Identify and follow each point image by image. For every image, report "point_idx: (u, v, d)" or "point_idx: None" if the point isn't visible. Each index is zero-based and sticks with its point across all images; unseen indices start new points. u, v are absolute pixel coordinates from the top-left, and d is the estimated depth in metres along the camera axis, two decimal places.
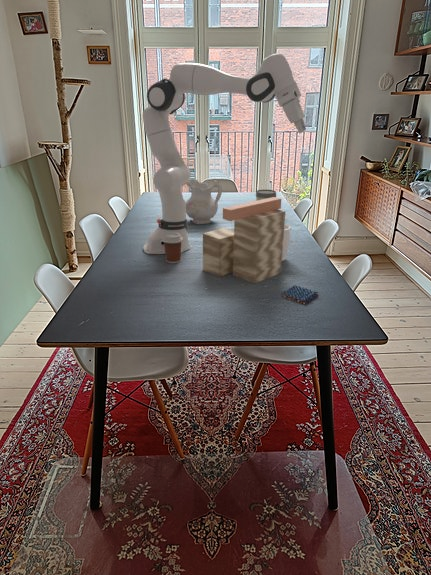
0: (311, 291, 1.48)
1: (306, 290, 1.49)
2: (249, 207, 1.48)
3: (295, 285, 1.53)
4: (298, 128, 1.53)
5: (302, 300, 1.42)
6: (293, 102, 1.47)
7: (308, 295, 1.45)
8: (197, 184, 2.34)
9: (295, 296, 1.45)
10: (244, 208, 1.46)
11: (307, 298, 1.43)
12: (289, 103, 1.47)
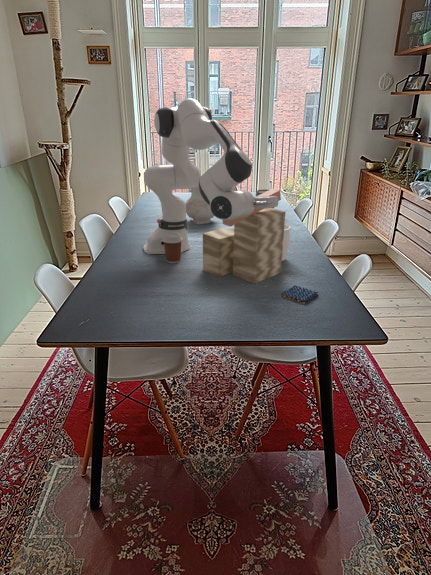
0: (311, 291, 1.48)
1: (306, 290, 1.49)
2: None
3: (295, 285, 1.53)
4: None
5: (302, 300, 1.42)
6: None
7: (308, 295, 1.45)
8: None
9: (295, 296, 1.45)
10: None
11: (307, 298, 1.43)
12: None
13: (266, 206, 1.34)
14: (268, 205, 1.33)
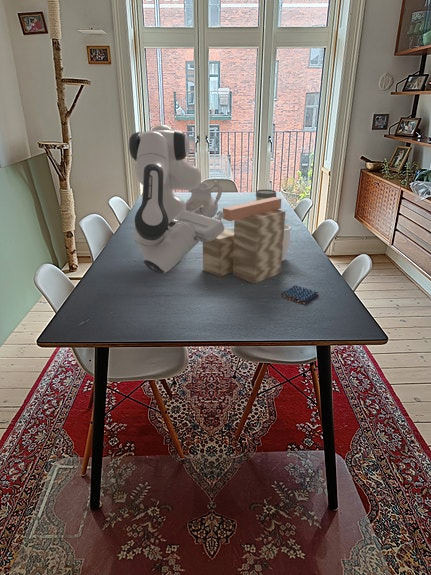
0: (311, 291, 1.48)
1: (306, 290, 1.49)
2: (249, 207, 1.48)
3: (295, 285, 1.53)
4: None
5: (302, 300, 1.42)
6: None
7: (308, 295, 1.45)
8: None
9: (295, 296, 1.45)
10: (244, 208, 1.46)
11: (307, 298, 1.43)
12: None
13: None
14: None
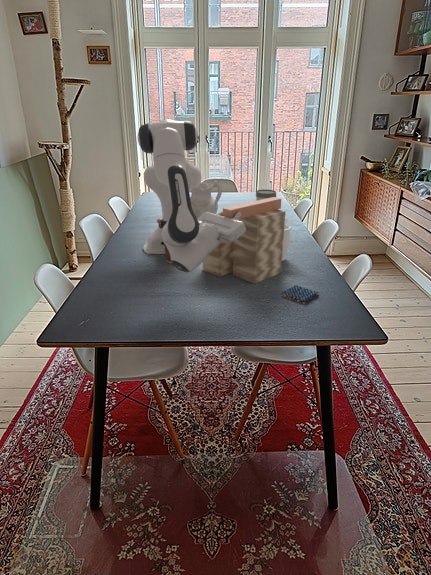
0: (312, 291, 1.48)
1: (307, 290, 1.49)
2: (249, 207, 1.48)
3: (296, 285, 1.53)
4: None
5: (302, 300, 1.42)
6: None
7: (308, 295, 1.45)
8: None
9: (295, 296, 1.45)
10: (244, 208, 1.46)
11: (307, 298, 1.43)
12: None
13: None
14: None
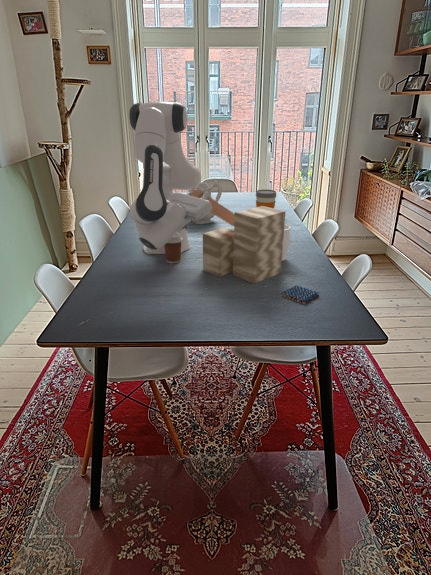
0: (312, 291, 1.48)
1: (307, 290, 1.49)
2: (215, 203, 1.54)
3: (296, 285, 1.53)
4: None
5: (302, 300, 1.42)
6: None
7: (308, 295, 1.45)
8: None
9: (295, 296, 1.45)
10: (211, 200, 1.52)
11: (307, 298, 1.43)
12: None
13: None
14: None
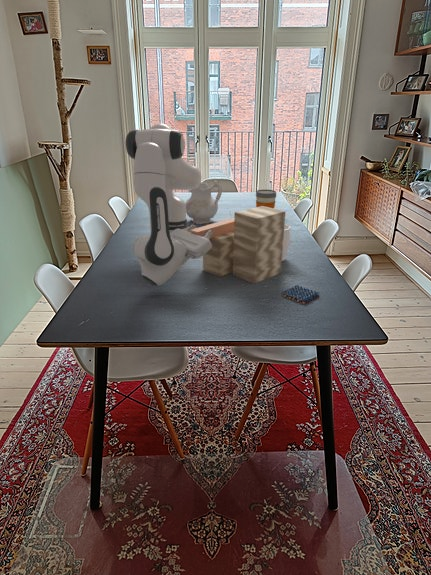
0: (312, 291, 1.48)
1: (307, 290, 1.49)
2: (215, 228, 1.58)
3: (297, 285, 1.53)
4: None
5: (302, 300, 1.42)
6: None
7: (308, 295, 1.45)
8: None
9: (295, 296, 1.45)
10: (210, 229, 1.56)
11: (307, 298, 1.43)
12: None
13: None
14: None
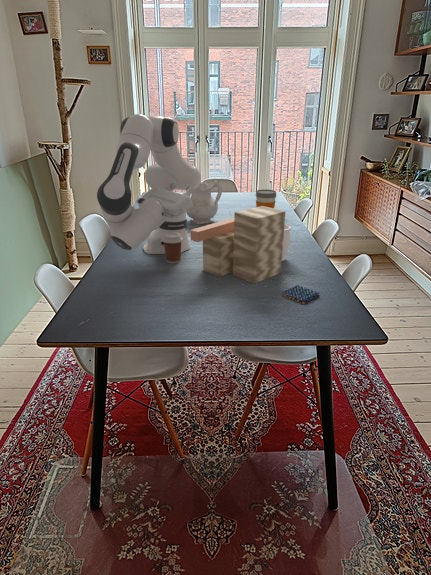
0: (312, 291, 1.48)
1: (308, 290, 1.49)
2: (215, 228, 1.58)
3: (297, 285, 1.53)
4: None
5: (301, 300, 1.42)
6: None
7: (309, 295, 1.45)
8: None
9: (295, 296, 1.45)
10: (210, 229, 1.56)
11: (307, 298, 1.43)
12: None
13: None
14: None
